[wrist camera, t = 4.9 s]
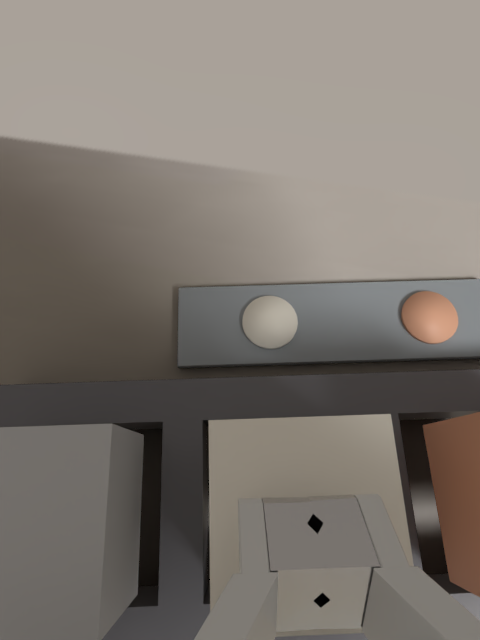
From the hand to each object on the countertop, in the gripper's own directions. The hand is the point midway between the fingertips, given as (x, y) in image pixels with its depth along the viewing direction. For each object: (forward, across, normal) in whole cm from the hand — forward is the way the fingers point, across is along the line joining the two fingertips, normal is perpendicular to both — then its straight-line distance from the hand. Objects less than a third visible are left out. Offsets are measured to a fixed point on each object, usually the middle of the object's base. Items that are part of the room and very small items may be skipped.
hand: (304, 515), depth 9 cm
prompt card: (+10, -3, 0) cm, 11 cm away
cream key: (+3, 0, +3) cm, 5 cm away
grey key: (+3, +7, +3) cm, 8 cm away
